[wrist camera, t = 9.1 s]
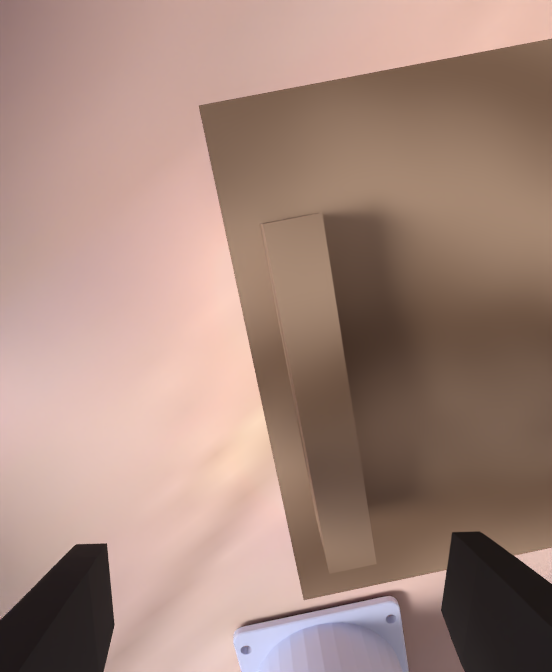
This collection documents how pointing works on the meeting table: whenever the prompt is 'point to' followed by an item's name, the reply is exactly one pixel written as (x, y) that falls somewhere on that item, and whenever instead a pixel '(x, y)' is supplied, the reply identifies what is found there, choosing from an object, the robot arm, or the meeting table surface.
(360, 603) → the robot arm
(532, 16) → the meeting table surface
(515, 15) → the meeting table surface
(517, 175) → the lid
